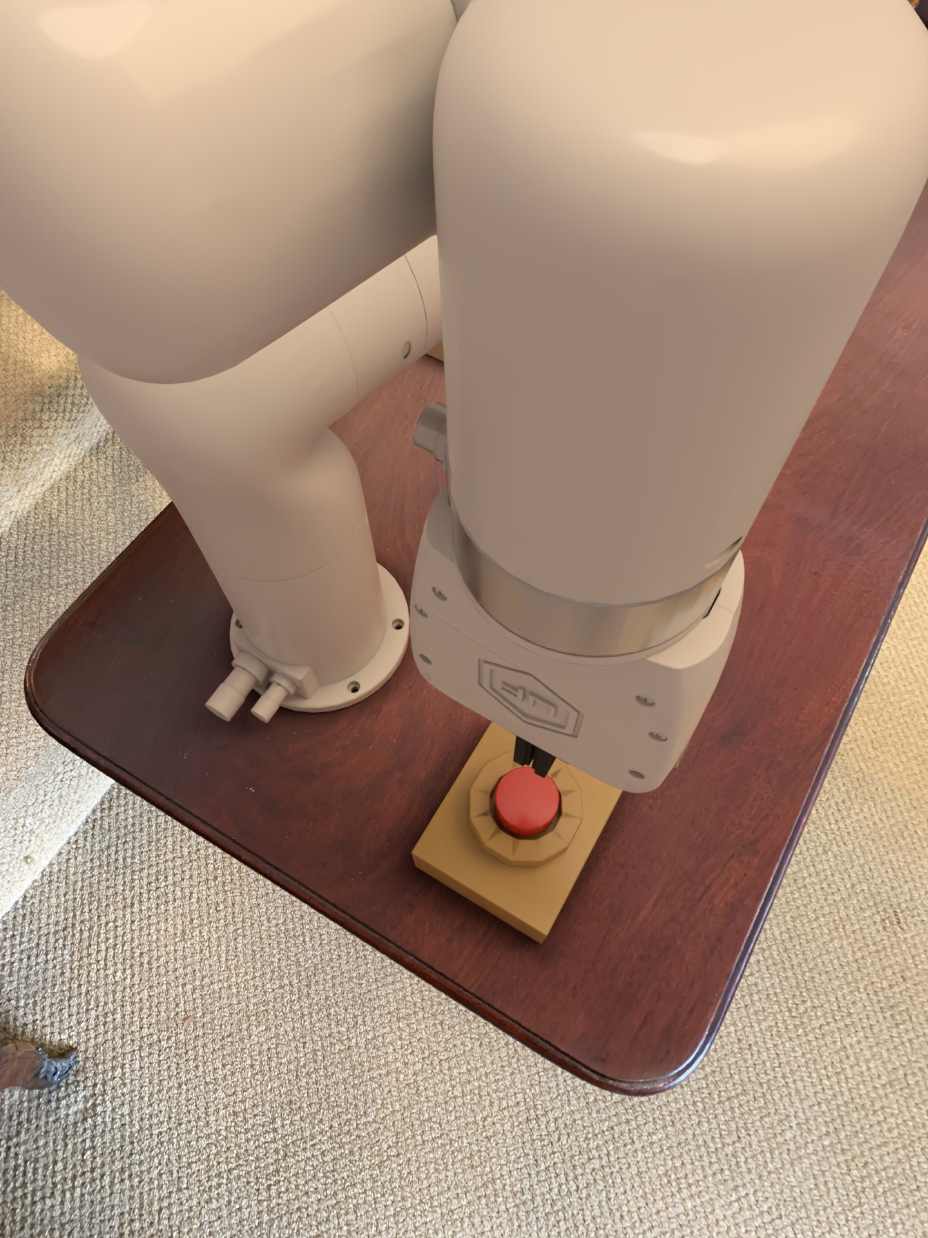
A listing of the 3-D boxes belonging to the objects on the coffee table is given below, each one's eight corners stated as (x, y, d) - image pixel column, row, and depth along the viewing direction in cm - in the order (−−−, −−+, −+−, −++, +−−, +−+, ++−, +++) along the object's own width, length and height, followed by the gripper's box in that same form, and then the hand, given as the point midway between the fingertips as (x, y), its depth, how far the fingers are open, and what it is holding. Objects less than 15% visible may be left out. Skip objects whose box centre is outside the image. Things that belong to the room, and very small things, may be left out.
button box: (541, 944, 51) (549, 932, 46) (415, 866, 54) (408, 846, 48) (622, 790, 56) (638, 762, 50) (501, 723, 58) (505, 690, 52)
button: (537, 848, 49) (540, 841, 47) (483, 816, 49) (483, 808, 48) (567, 794, 50) (570, 786, 48) (513, 764, 51) (515, 755, 49)
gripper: (279, 497, 23) (362, 730, 39) (815, 774, 19) (660, 904, 36) (428, 320, 26) (447, 606, 42) (918, 531, 22) (731, 754, 38)
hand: (545, 742), depth 39 cm, fingers closed
